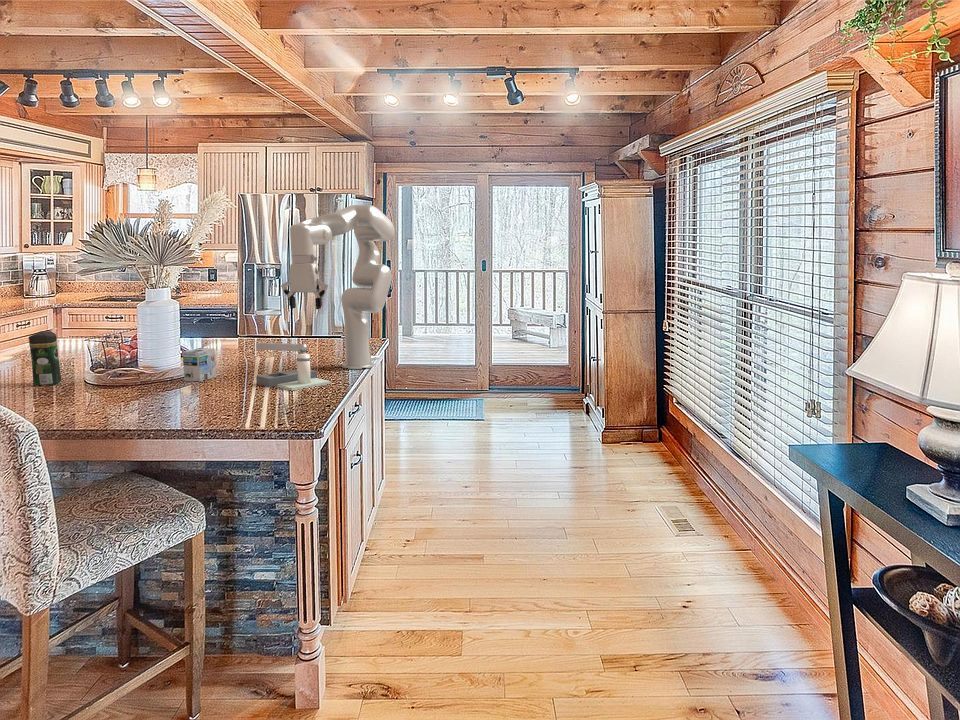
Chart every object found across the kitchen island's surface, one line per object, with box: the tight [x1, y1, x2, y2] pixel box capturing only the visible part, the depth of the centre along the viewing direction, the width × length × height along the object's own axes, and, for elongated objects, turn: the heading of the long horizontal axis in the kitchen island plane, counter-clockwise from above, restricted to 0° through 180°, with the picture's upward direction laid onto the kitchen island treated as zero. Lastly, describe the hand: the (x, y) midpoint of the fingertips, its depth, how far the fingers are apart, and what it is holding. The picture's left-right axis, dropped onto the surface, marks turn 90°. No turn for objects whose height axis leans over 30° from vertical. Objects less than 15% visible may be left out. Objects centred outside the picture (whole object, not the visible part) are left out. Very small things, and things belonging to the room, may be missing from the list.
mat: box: [276, 377, 332, 392], centre depth 252 cm, size 16×9×1 cm, turn 138°
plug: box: [296, 353, 311, 384], centre depth 251 cm, size 4×4×10 cm
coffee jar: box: [28, 330, 62, 386], centre depth 251 cm, size 10×8×19 cm
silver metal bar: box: [255, 342, 308, 352], centre depth 264 cm, size 19×3×2 cm, turn 79°
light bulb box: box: [182, 347, 217, 383], centre depth 262 cm, size 11×7×11 cm, turn 168°
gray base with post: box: [255, 351, 318, 388], centre depth 258 cm, size 20×8×10 cm, turn 138°
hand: (305, 308), depth 256 cm, fingers open, 9 cm apart
